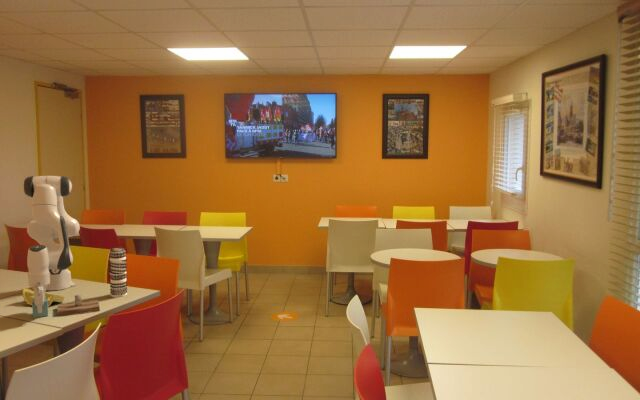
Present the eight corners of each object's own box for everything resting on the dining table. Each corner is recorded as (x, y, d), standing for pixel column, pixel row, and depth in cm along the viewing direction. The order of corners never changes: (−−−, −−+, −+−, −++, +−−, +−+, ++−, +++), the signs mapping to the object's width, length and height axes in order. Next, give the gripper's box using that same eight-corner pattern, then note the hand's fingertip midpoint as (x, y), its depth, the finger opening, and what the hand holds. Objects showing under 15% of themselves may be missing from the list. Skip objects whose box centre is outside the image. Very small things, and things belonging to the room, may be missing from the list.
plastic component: (66, 297, 255) (52, 293, 246) (61, 311, 253) (47, 308, 244) (35, 291, 261) (20, 287, 252) (30, 305, 259) (15, 302, 249)
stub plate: (57, 308, 245) (57, 294, 244) (97, 303, 253) (97, 289, 252) (57, 316, 233) (56, 301, 233) (99, 310, 242) (99, 296, 241)
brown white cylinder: (123, 291, 275) (122, 246, 273) (131, 294, 269) (129, 248, 266) (106, 294, 269) (105, 248, 266) (114, 298, 262) (112, 251, 260)
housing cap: (33, 314, 236) (33, 299, 235) (48, 312, 239) (47, 297, 238) (33, 317, 231) (32, 303, 230) (47, 316, 233) (47, 301, 233)
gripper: (46, 285, 225) (47, 315, 227) (47, 275, 243) (48, 302, 245) (30, 286, 222) (31, 317, 224) (32, 276, 241) (33, 304, 242)
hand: (40, 309), depth 234 cm, fingers open, 8 cm apart
